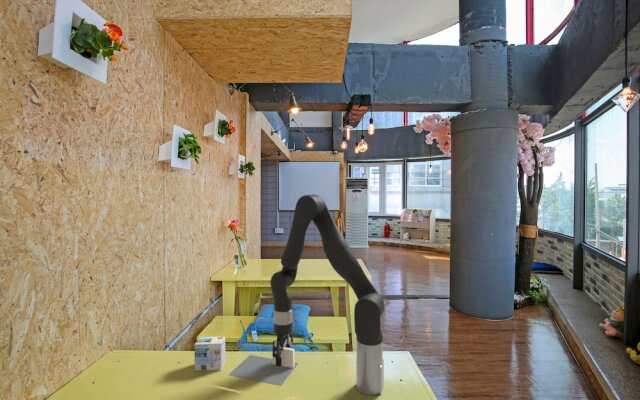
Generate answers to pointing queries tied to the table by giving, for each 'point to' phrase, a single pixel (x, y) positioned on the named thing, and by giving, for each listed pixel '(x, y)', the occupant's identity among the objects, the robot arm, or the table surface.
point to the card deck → (287, 358)
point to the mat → (262, 370)
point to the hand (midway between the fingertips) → (283, 360)
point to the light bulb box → (209, 353)
